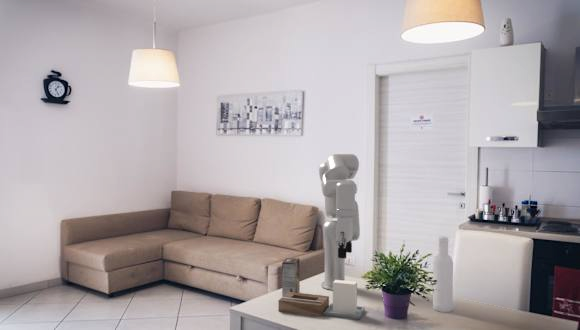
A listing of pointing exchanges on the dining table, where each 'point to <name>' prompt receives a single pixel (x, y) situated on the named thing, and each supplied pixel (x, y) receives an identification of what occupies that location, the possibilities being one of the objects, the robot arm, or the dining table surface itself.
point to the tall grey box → (290, 275)
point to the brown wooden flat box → (304, 303)
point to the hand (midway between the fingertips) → (345, 255)
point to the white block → (345, 296)
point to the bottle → (443, 278)
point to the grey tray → (344, 315)
